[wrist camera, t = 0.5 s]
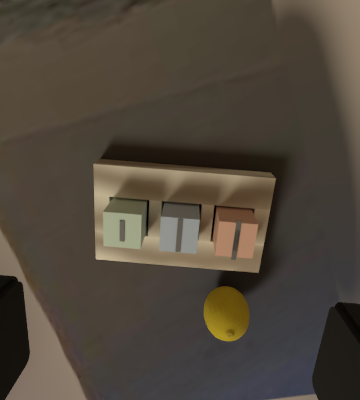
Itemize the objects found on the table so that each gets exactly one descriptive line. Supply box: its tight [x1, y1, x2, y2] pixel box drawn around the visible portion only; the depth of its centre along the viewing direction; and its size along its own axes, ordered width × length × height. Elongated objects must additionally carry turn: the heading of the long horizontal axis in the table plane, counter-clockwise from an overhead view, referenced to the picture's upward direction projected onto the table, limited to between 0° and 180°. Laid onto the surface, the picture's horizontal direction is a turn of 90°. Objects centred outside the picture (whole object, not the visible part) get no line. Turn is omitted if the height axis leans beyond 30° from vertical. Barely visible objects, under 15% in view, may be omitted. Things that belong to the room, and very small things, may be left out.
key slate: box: [159, 202, 200, 254], centre depth 35 cm, size 4×4×4 cm
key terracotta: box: [213, 206, 258, 260], centre depth 35 cm, size 5×4×4 cm
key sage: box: [103, 197, 148, 249], centre depth 35 cm, size 4×4×4 cm
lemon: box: [204, 286, 250, 341], centre depth 39 cm, size 6×6×8 cm
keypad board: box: [94, 159, 276, 273], centre depth 38 cm, size 12×20×2 cm, turn 86°
